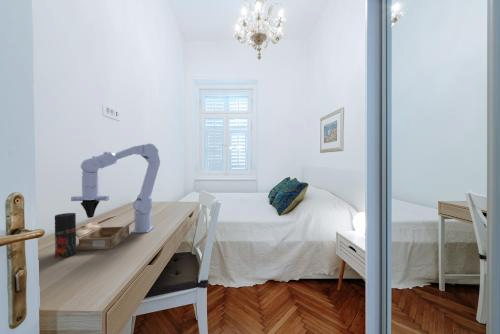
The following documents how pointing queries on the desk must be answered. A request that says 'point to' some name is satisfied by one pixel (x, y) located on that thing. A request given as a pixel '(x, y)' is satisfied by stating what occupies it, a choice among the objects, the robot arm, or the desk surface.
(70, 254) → the deodorant
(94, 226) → the flap
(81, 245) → the carton
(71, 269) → the desk surface
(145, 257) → the desk surface
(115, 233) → the flap
